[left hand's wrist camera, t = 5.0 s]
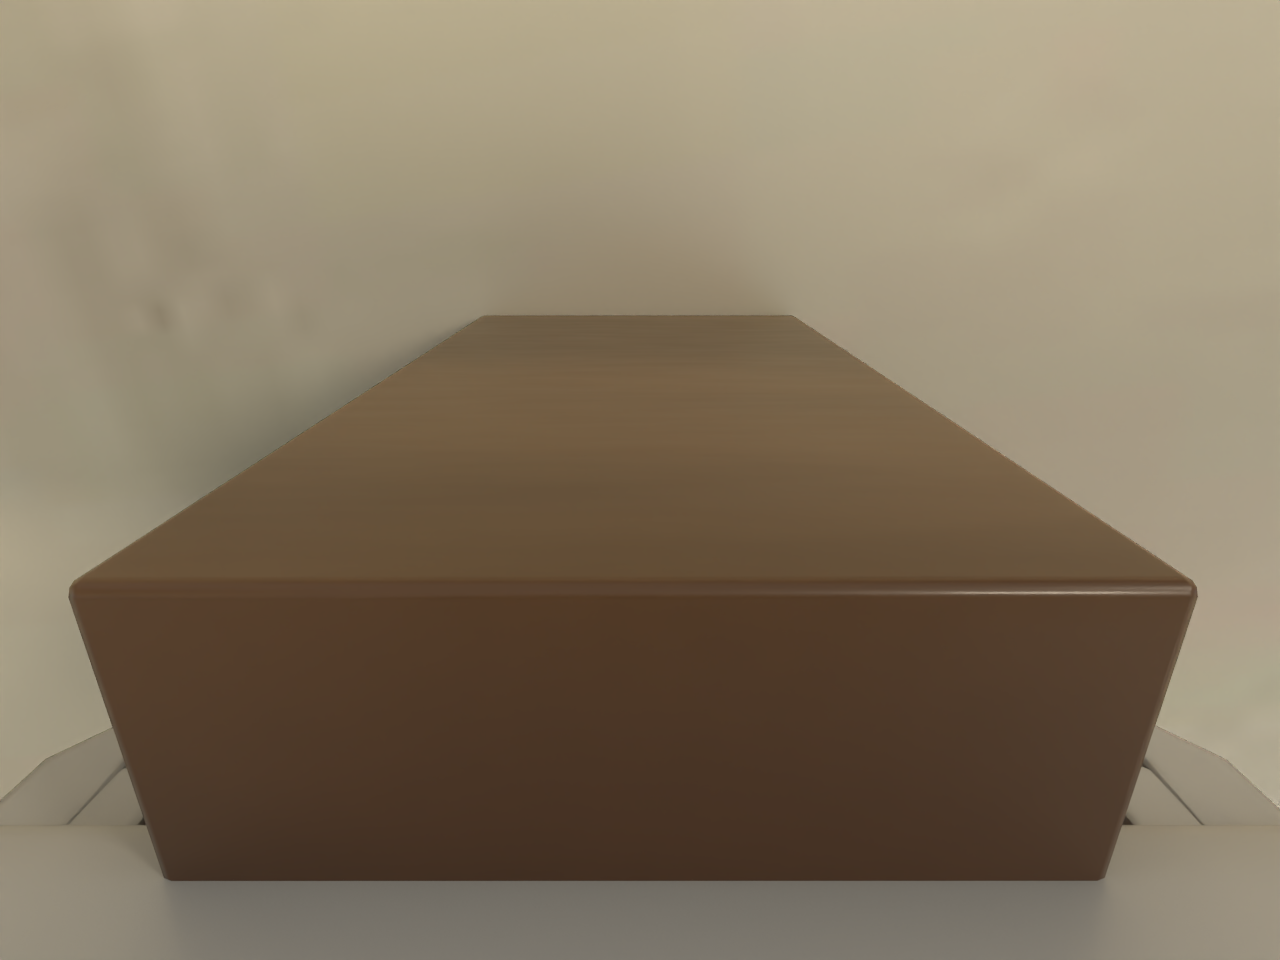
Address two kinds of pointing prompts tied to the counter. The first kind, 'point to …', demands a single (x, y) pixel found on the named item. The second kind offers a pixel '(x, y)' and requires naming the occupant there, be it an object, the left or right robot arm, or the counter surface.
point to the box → (634, 630)
